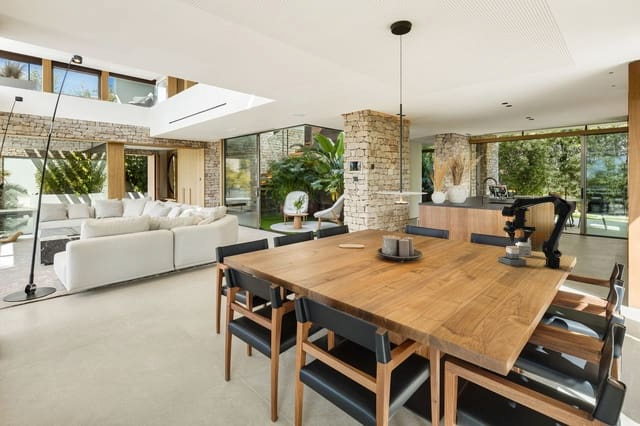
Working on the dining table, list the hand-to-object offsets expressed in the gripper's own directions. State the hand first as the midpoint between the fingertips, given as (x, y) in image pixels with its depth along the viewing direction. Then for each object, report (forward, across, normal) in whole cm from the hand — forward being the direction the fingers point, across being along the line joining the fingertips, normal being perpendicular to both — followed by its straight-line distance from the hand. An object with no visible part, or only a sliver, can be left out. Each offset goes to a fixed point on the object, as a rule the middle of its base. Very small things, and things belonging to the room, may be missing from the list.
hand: (518, 242), depth 208 cm
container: (+12, -14, -12) cm, 22 cm away
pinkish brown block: (+5, +9, +5) cm, 11 cm away
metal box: (+11, +9, +6) cm, 16 cm away
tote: (+12, +9, +6) cm, 16 cm away
